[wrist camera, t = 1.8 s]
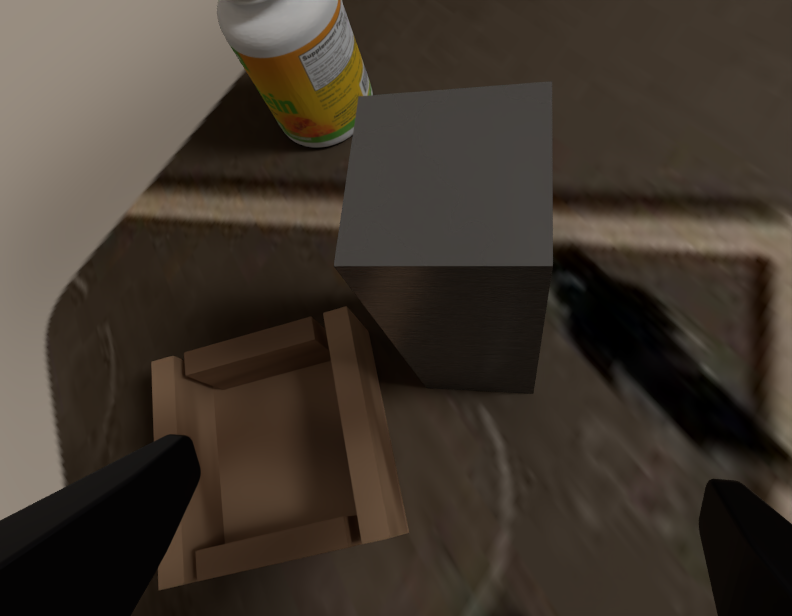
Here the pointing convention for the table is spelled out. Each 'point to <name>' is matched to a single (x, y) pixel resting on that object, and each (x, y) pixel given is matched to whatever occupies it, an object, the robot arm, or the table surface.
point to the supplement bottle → (300, 64)
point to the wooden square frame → (279, 448)
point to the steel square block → (454, 229)
